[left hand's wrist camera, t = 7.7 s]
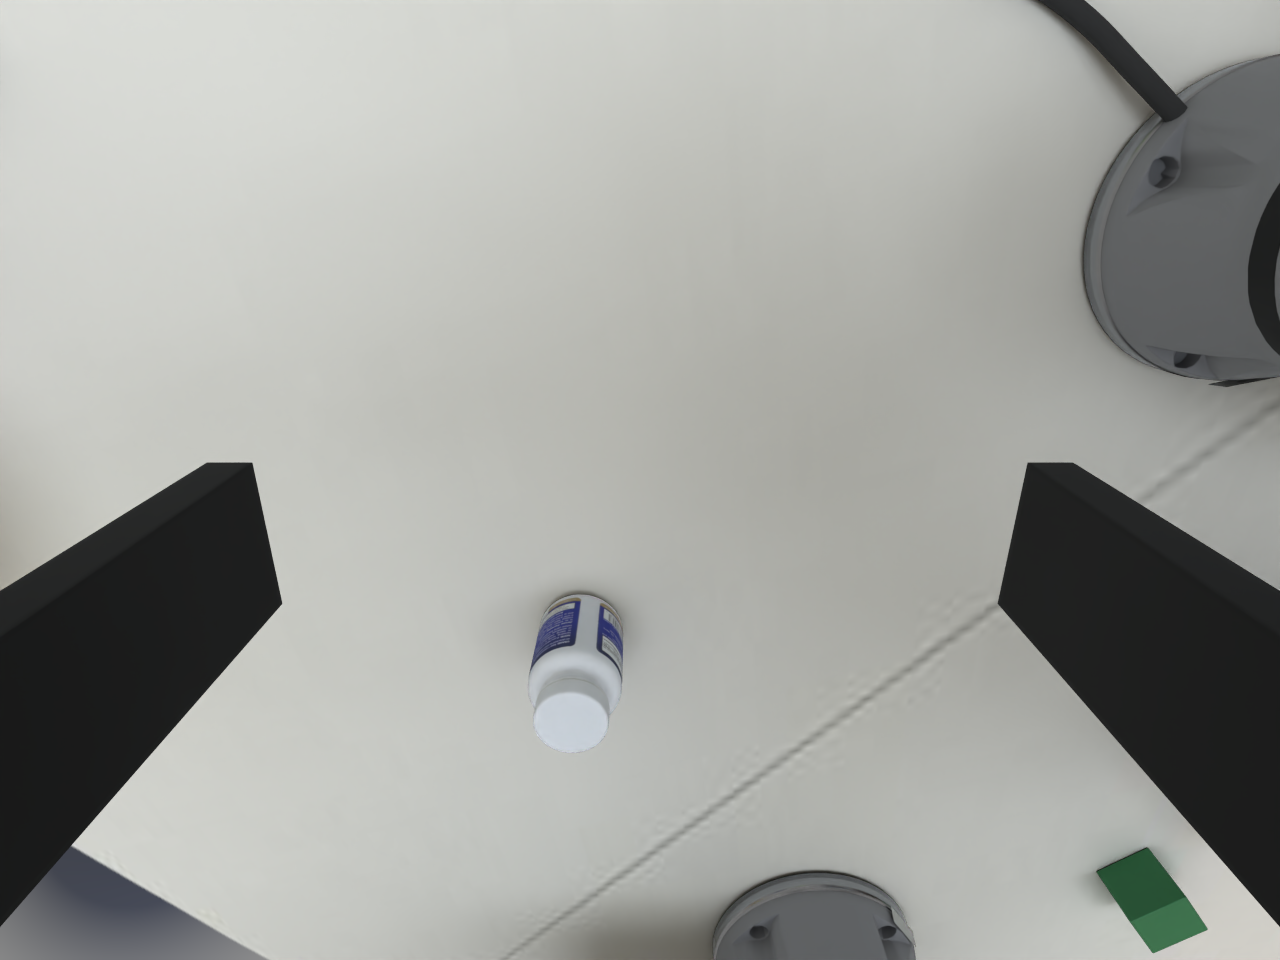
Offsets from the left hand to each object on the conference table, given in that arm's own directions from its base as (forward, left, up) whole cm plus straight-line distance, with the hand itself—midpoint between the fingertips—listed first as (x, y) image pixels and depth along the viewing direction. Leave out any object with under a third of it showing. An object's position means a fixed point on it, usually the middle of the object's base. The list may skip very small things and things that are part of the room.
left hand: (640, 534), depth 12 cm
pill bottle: (-20, +4, -28) cm, 35 cm away
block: (-42, -37, -28) cm, 63 cm away
